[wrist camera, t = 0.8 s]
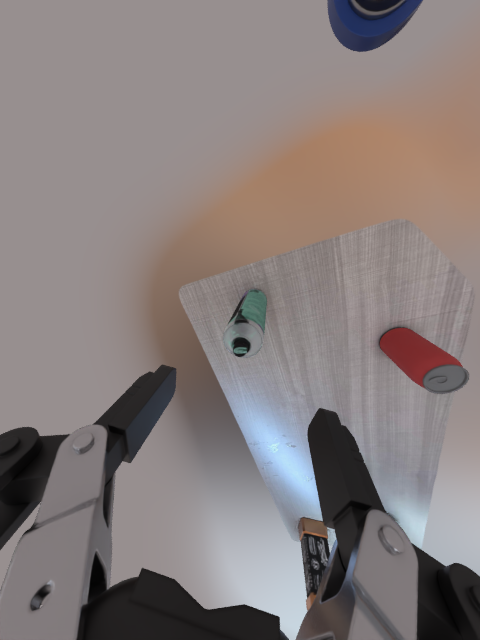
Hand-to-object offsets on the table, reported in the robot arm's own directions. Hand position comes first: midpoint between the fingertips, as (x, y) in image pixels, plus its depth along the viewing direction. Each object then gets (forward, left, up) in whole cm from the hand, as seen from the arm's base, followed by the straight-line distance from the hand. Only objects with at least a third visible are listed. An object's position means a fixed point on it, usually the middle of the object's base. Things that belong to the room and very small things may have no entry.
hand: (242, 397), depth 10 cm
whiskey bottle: (+41, +98, -31) cm, 111 cm away
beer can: (-16, +26, -31) cm, 43 cm away
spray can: (+4, +2, -31) cm, 31 cm away
